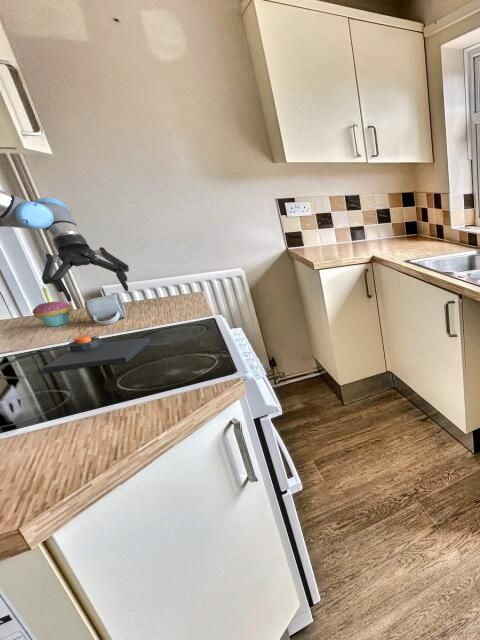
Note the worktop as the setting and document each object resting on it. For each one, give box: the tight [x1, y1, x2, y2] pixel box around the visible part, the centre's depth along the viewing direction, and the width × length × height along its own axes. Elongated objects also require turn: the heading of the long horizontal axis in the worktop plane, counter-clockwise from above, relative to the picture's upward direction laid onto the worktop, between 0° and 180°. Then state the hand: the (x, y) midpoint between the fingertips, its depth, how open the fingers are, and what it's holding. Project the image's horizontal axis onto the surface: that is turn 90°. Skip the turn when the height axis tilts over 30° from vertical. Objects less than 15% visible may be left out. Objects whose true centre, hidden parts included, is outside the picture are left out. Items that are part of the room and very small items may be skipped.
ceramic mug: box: [84, 293, 127, 326], centre depth 132 cm, size 11×8×8 cm
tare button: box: [73, 334, 92, 344], centre depth 109 cm, size 3×3×2 cm
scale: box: [42, 336, 152, 374], centre depth 108 cm, size 16×15×3 cm
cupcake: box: [31, 285, 74, 328], centre depth 129 cm, size 9×8×12 cm
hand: (99, 293), depth 132 cm, fingers open, 13 cm apart
